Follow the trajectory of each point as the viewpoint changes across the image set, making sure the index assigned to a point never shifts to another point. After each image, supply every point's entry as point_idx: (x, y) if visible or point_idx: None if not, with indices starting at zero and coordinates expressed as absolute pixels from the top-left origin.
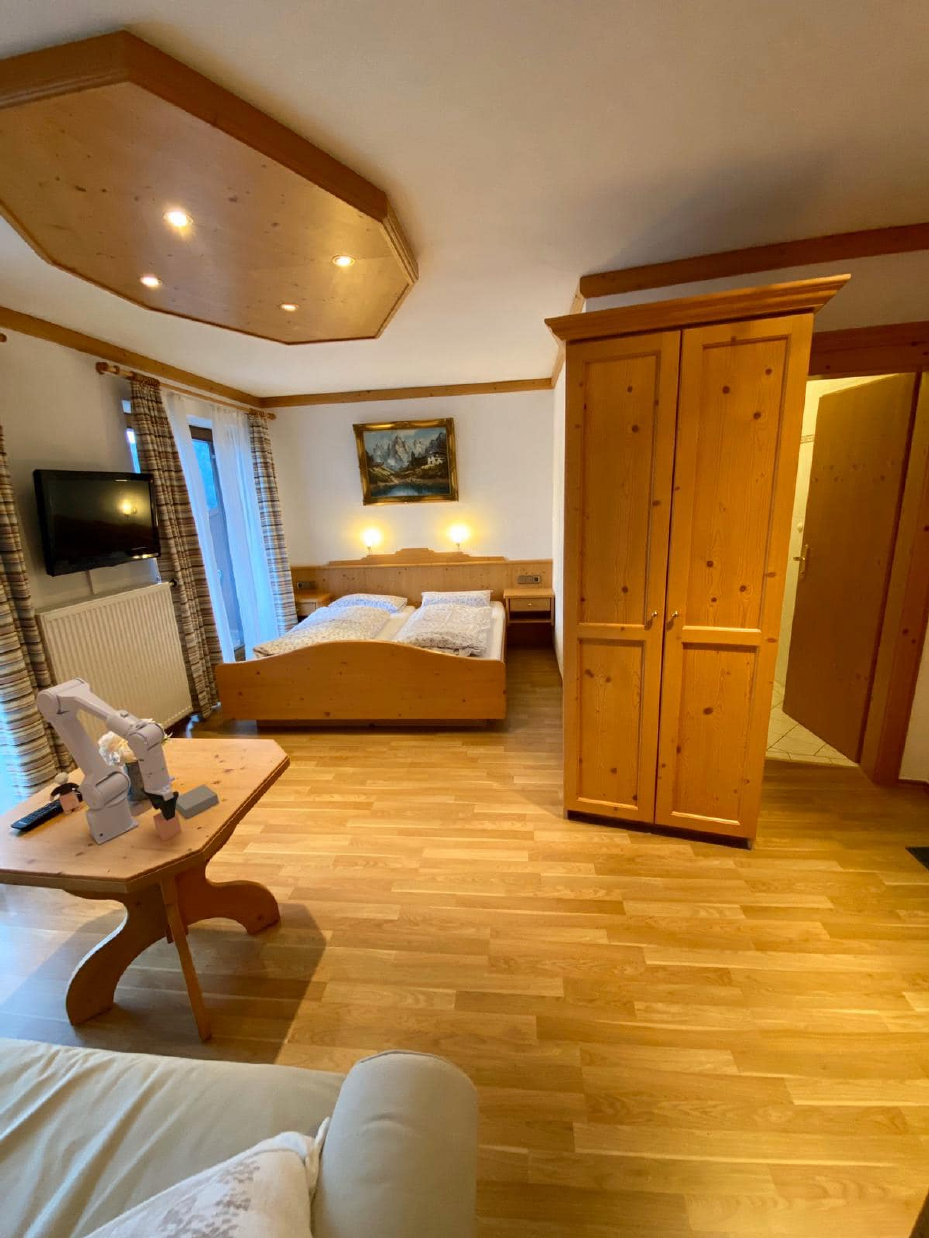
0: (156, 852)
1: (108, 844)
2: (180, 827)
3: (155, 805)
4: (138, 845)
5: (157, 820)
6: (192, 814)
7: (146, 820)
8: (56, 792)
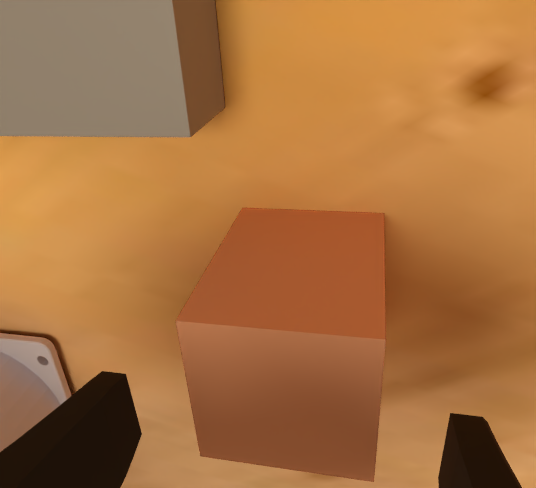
0: (456, 396)
1: None
2: (383, 237)
3: (110, 479)
4: None
5: (320, 472)
6: (215, 54)
7: (20, 290)
8: None
